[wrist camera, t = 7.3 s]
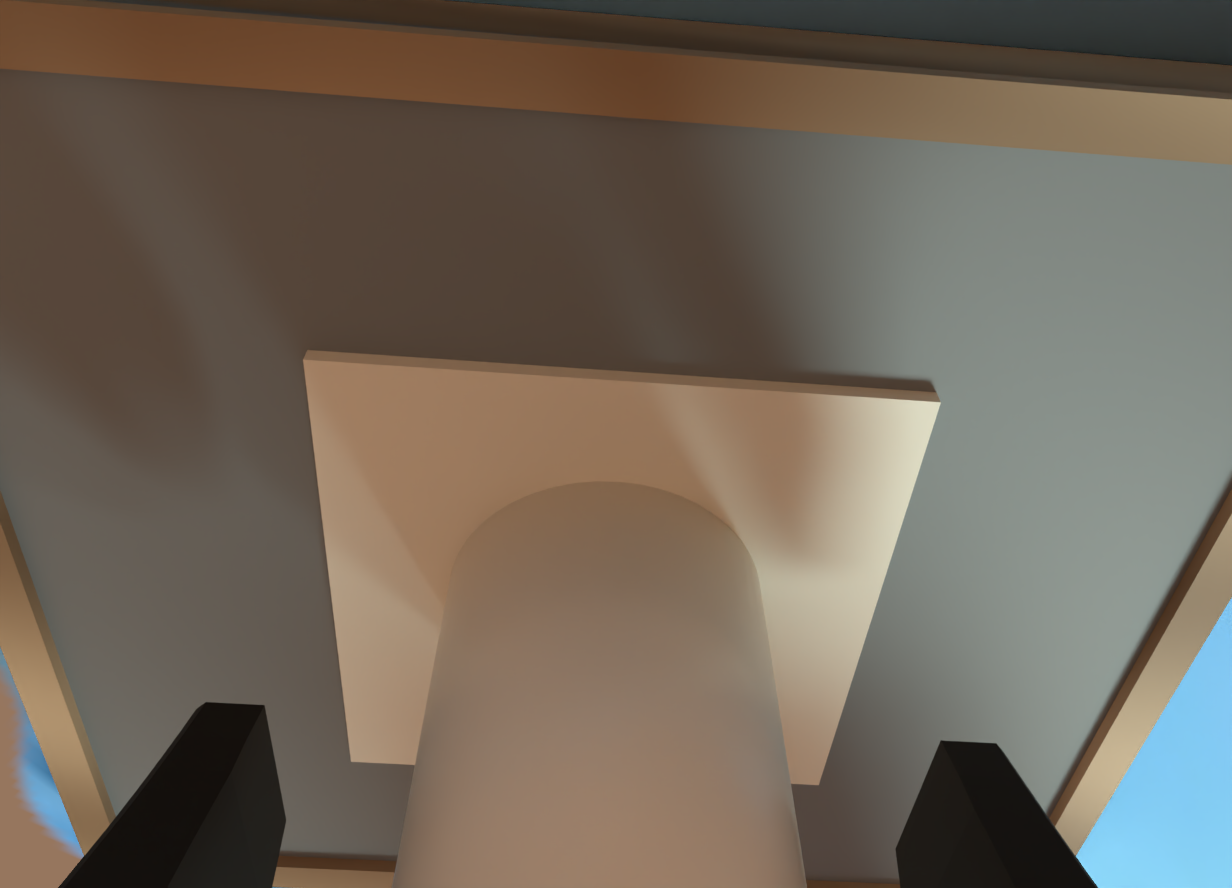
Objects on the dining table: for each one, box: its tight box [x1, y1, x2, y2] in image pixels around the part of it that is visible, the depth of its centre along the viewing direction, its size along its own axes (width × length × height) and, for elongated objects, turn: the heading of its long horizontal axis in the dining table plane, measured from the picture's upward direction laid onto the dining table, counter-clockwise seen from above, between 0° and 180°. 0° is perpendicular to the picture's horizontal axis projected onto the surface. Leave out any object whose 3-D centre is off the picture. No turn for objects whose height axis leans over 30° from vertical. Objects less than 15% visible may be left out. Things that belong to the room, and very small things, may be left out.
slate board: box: [0, 0, 1232, 888], centre depth 14 cm, size 14×16×1 cm
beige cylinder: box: [392, 481, 807, 888], centre depth 11 cm, size 4×4×7 cm
